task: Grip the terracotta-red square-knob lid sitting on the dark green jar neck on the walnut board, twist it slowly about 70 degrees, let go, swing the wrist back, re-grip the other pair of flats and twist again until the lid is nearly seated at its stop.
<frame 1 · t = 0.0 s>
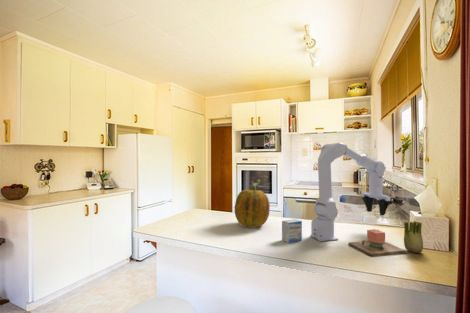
hand: (375, 213, 111), 10 cm above the countertop, tool pointing down, fingers open, 7 cm apart
pumpkin: (251, 226, 122), on the countertop
medicine box: (291, 240, 101), on the countertop
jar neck: (376, 244, 92), point 1 cm above the countertop
board: (376, 248, 92), on the countertop
lid: (375, 235, 92), point 5 cm above the countertop, hinge at 0.0°
fennel bulb: (413, 252, 89), on the countertop
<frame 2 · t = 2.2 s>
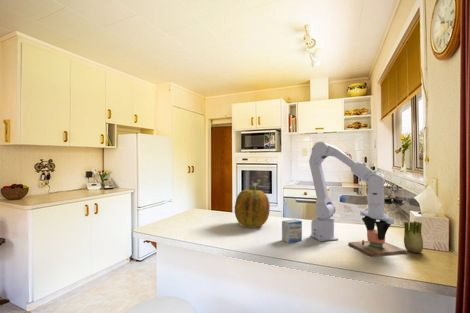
hand: (375, 237, 92), 5 cm above the countertop, tool pointing down, fingers closed on lid, 4 cm apart
lid: (375, 235, 92), point 5 cm above the countertop, hinge at 0.0°, touching gripper
everything else where it was.
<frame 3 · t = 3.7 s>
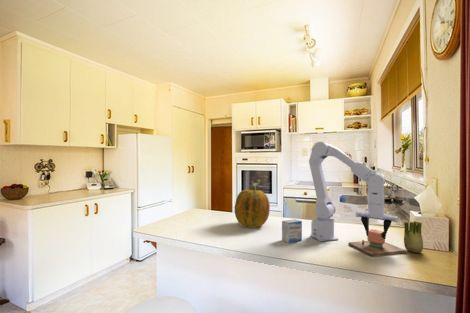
hand: (376, 237, 92), 5 cm above the countertop, tool pointing down, fingers closed on lid, 5 cm apart
lid: (375, 235, 92), point 5 cm above the countertop, hinge at 27.7°, touching gripper
everything else where it was.
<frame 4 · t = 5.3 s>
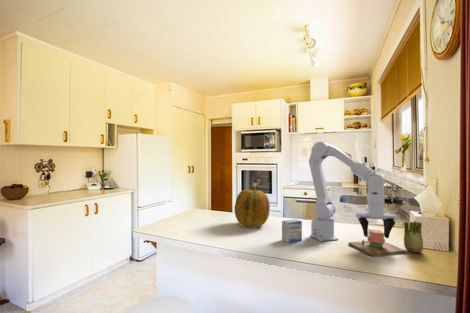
hand: (375, 236, 92), 5 cm above the countertop, tool pointing down, fingers open, 7 cm apart
lid: (375, 235, 92), point 5 cm above the countertop, hinge at 58.2°
everything else where it was.
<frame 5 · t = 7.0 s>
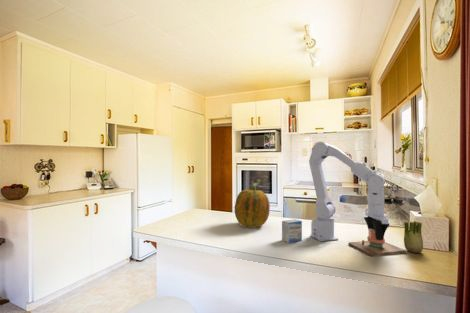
hand: (376, 237, 92), 5 cm above the countertop, tool pointing down, fingers closed on lid, 5 cm apart
lid: (375, 235, 92), point 5 cm above the countertop, hinge at 58.3°, touching gripper
everything else where it was.
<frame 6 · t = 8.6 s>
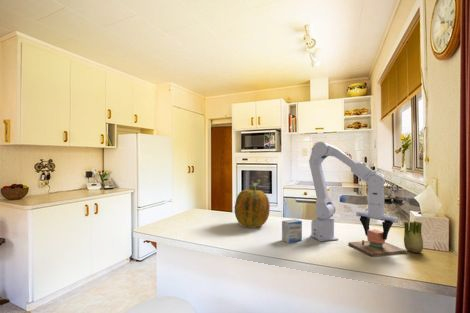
hand: (376, 237, 92), 5 cm above the countertop, tool pointing down, fingers closed on lid, 6 cm apart
lid: (375, 235, 92), point 5 cm above the countertop, hinge at 94.7°, touching gripper
everything else where it was.
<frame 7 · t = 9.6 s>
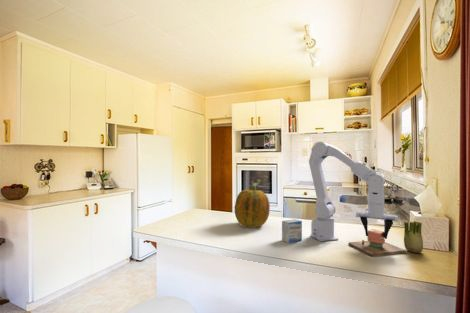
hand: (375, 236, 92), 5 cm above the countertop, tool pointing down, fingers closed on lid, 6 cm apart
lid: (375, 235, 92), point 5 cm above the countertop, hinge at 115.5°, touching gripper
everything else where it was.
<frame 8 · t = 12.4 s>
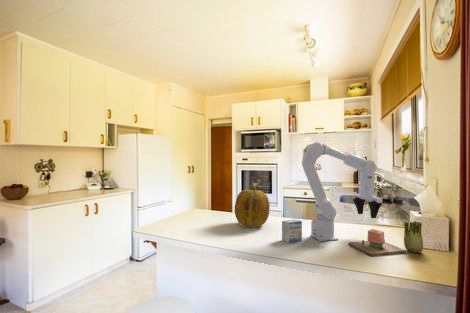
hand: (366, 215, 104), 10 cm above the countertop, tool pointing down, fingers open, 7 cm apart
lid: (375, 235, 92), point 5 cm above the countertop, hinge at 115.6°
everything else where it was.
at the end: lid at +116° (first picture: +0°); the gripper is holding nothing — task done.
